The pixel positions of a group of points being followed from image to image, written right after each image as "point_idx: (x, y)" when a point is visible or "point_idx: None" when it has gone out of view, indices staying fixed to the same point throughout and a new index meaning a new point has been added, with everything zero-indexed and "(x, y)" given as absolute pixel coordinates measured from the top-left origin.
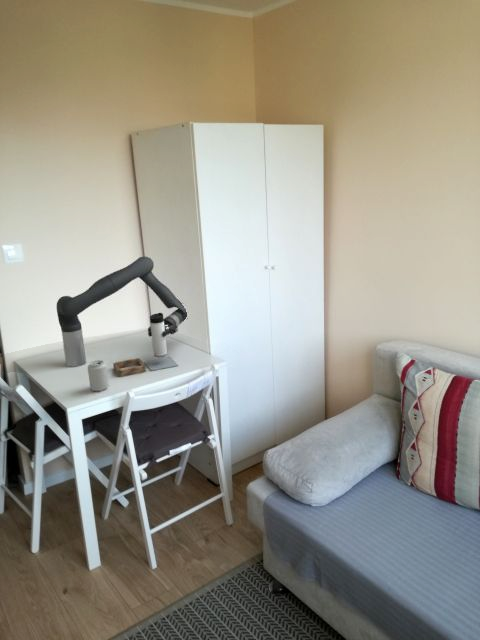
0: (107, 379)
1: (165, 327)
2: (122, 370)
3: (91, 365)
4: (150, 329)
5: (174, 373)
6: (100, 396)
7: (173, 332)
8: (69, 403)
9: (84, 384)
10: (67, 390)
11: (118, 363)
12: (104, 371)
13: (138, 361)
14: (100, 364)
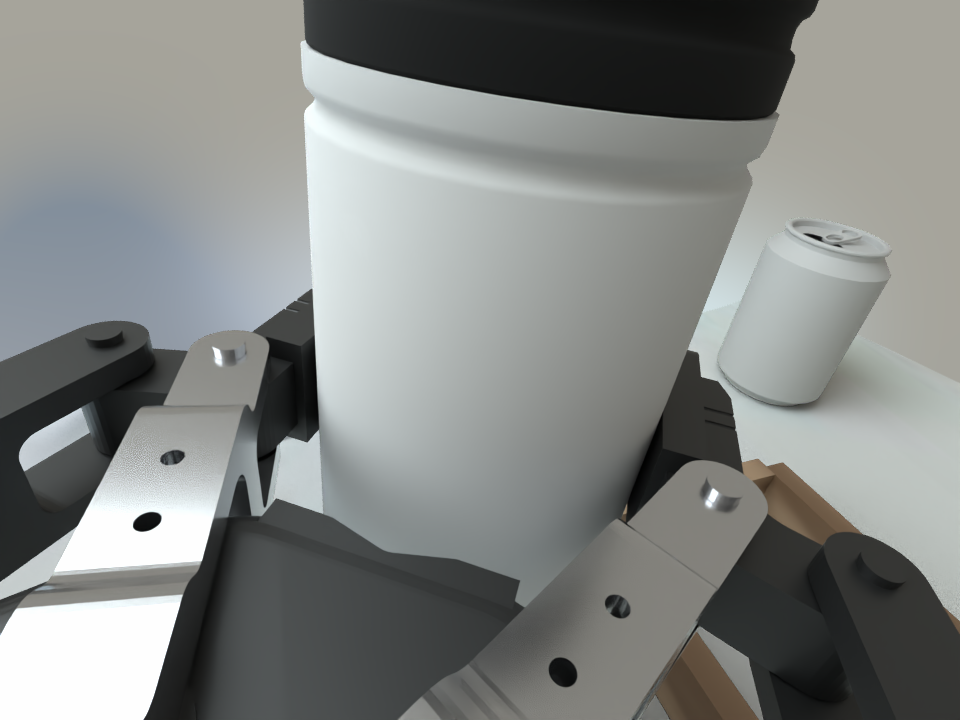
0: (735, 331)
1: (223, 552)
2: (746, 462)
3: (834, 224)
4: (817, 596)
5: (315, 466)
6: (701, 324)
7: (65, 464)
8: None
9: (911, 444)
10: (934, 400)
11: None
12: (755, 268)
13: (727, 686)
14: (788, 220)
